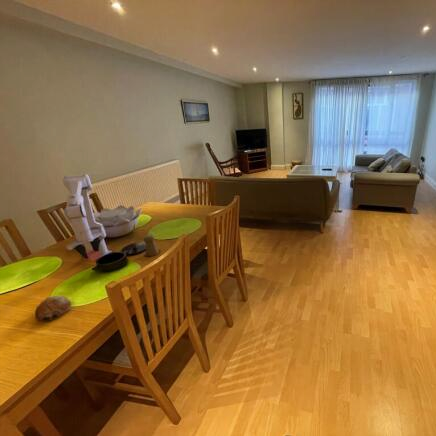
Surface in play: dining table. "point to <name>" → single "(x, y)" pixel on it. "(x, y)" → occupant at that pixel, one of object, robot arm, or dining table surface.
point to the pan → (111, 262)
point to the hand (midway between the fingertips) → (91, 255)
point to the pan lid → (134, 248)
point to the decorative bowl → (117, 220)
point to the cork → (150, 245)
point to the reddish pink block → (92, 255)
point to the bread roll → (52, 308)
